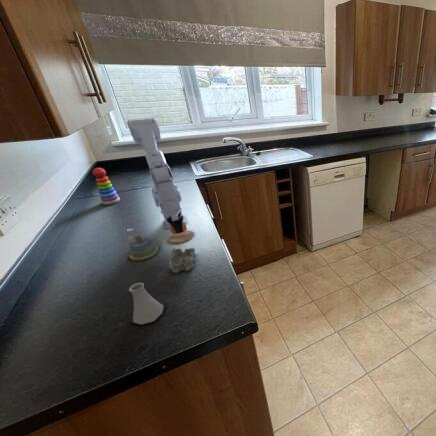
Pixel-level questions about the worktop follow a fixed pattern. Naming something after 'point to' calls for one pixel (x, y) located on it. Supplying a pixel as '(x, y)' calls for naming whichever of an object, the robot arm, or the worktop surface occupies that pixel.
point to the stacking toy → (105, 187)
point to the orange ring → (183, 228)
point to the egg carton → (182, 259)
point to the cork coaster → (181, 237)
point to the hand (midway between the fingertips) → (179, 229)
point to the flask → (144, 305)
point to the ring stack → (142, 248)
